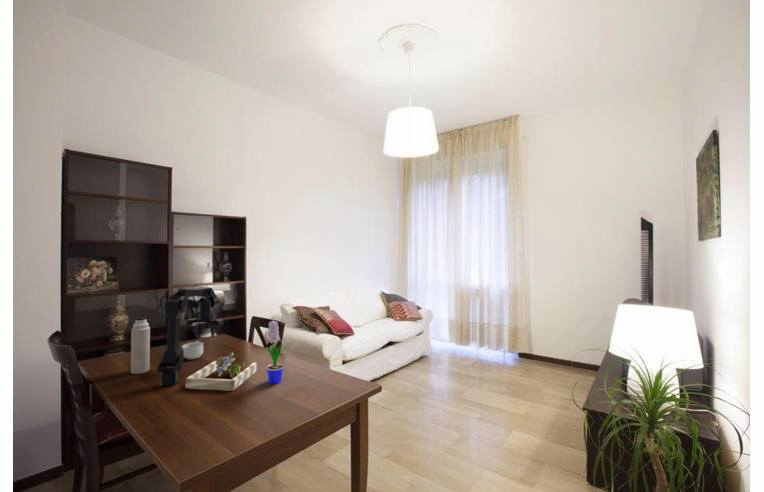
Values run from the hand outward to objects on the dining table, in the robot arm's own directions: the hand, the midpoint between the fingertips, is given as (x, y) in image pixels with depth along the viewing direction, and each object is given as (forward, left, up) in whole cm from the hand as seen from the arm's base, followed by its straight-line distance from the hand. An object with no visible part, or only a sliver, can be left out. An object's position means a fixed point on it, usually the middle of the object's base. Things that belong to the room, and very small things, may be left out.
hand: (204, 337), depth 190 cm
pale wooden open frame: (-20, -22, -15) cm, 33 cm away
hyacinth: (-20, -49, -15) cm, 55 cm away
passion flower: (-14, -22, -15) cm, 30 cm away
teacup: (+10, +12, -15) cm, 22 cm away
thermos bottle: (-14, +26, -15) cm, 33 cm away
